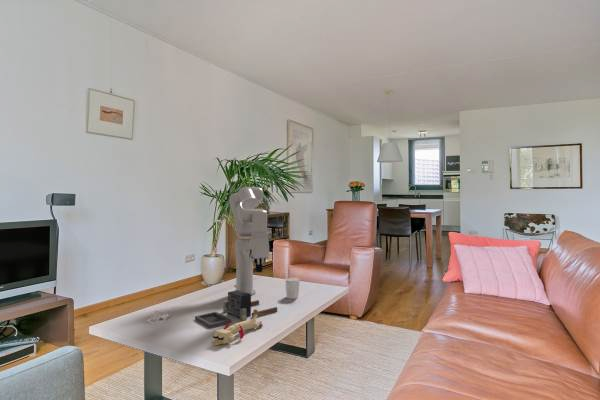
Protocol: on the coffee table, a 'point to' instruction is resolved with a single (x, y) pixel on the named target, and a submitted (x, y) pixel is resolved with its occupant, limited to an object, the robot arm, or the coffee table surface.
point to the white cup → (292, 288)
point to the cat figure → (236, 330)
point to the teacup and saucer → (158, 316)
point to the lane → (244, 311)
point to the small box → (238, 303)
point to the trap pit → (213, 319)
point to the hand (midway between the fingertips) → (258, 271)
